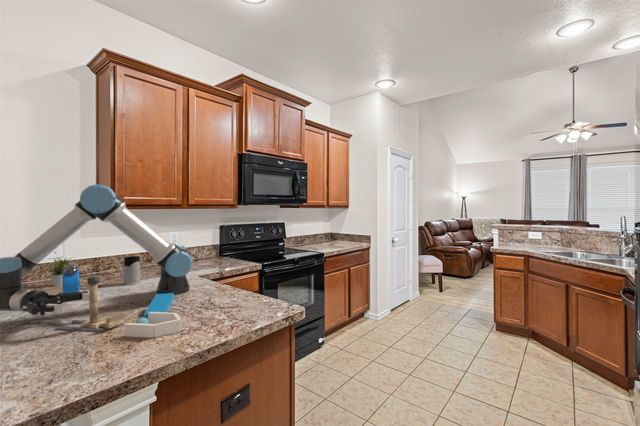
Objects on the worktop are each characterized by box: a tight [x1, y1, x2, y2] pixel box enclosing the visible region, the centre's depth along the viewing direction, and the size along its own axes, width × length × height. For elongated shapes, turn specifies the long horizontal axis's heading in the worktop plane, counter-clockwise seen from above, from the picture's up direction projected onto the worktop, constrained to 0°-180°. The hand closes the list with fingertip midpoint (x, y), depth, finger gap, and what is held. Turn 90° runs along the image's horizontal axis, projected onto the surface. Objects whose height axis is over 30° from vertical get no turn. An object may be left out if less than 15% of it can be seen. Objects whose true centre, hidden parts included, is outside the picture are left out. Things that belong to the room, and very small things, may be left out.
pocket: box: [124, 311, 183, 339], centre depth 105 cm, size 16×12×4 cm
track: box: [54, 319, 104, 333], centre depth 109 cm, size 18×7×1 cm, turn 83°
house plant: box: [44, 256, 76, 287], centre depth 171 cm, size 14×14×16 cm
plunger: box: [80, 276, 125, 329], centre depth 108 cm, size 12×6×17 cm, turn 83°
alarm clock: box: [62, 264, 81, 293], centre depth 148 cm, size 13×6×15 cm, turn 38°
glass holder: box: [118, 255, 142, 286], centre depth 175 cm, size 9×14×15 cm, turn 71°
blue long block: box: [143, 293, 175, 319], centre depth 126 cm, size 7×7×18 cm
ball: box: [135, 317, 149, 324], centre depth 106 cm, size 4×4×4 cm
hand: (82, 302), depth 109 cm, fingers open, 13 cm apart
